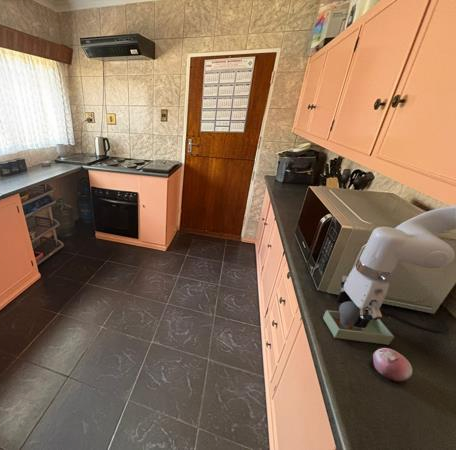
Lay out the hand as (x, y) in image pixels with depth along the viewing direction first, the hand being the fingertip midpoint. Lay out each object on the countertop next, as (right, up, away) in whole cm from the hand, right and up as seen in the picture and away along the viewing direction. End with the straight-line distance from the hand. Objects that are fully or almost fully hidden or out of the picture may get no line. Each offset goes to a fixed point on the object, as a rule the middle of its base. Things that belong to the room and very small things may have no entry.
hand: (349, 313), depth 77 cm
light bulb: (0, -5, +3) cm, 6 cm away
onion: (+3, -13, -9) cm, 16 cm away
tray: (+3, -6, +3) cm, 8 cm away
